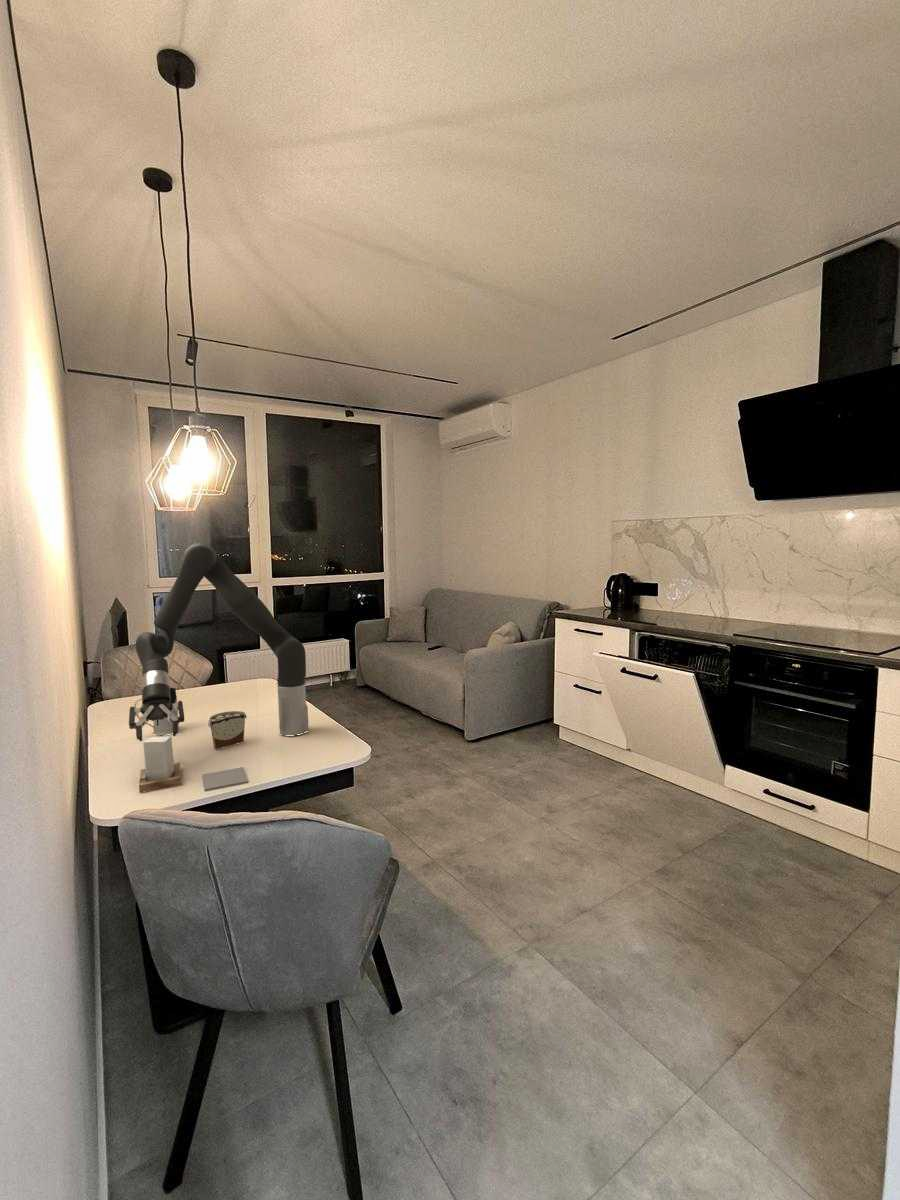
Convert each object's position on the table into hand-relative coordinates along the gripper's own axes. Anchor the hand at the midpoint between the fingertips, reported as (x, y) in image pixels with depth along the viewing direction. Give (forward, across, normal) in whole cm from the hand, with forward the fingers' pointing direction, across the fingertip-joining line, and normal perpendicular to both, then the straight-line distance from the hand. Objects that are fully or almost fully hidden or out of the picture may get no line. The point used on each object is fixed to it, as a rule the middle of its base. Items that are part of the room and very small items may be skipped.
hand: (157, 737), depth 158 cm
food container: (-4, +19, +20) cm, 28 cm away
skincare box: (+11, 0, +4) cm, 12 cm away
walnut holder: (+11, 0, +4) cm, 12 cm away
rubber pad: (+17, +16, -1) cm, 23 cm away
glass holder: (-20, -1, +36) cm, 41 cm away
